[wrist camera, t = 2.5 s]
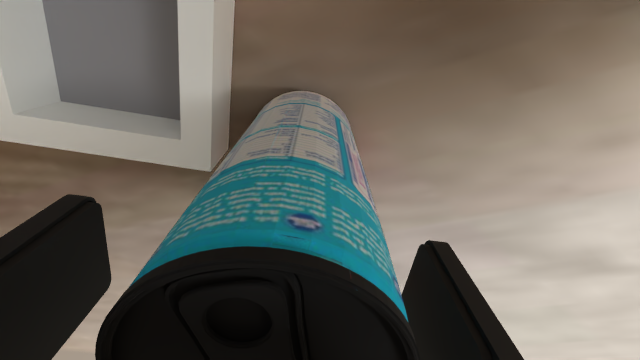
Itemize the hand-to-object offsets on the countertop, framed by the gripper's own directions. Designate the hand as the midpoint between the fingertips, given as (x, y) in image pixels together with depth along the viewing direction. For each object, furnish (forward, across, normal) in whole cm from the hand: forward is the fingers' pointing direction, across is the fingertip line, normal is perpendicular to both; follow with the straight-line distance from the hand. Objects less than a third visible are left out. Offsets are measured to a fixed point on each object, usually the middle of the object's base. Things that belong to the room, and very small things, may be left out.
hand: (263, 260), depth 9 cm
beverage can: (+11, -1, -1) cm, 11 cm away
